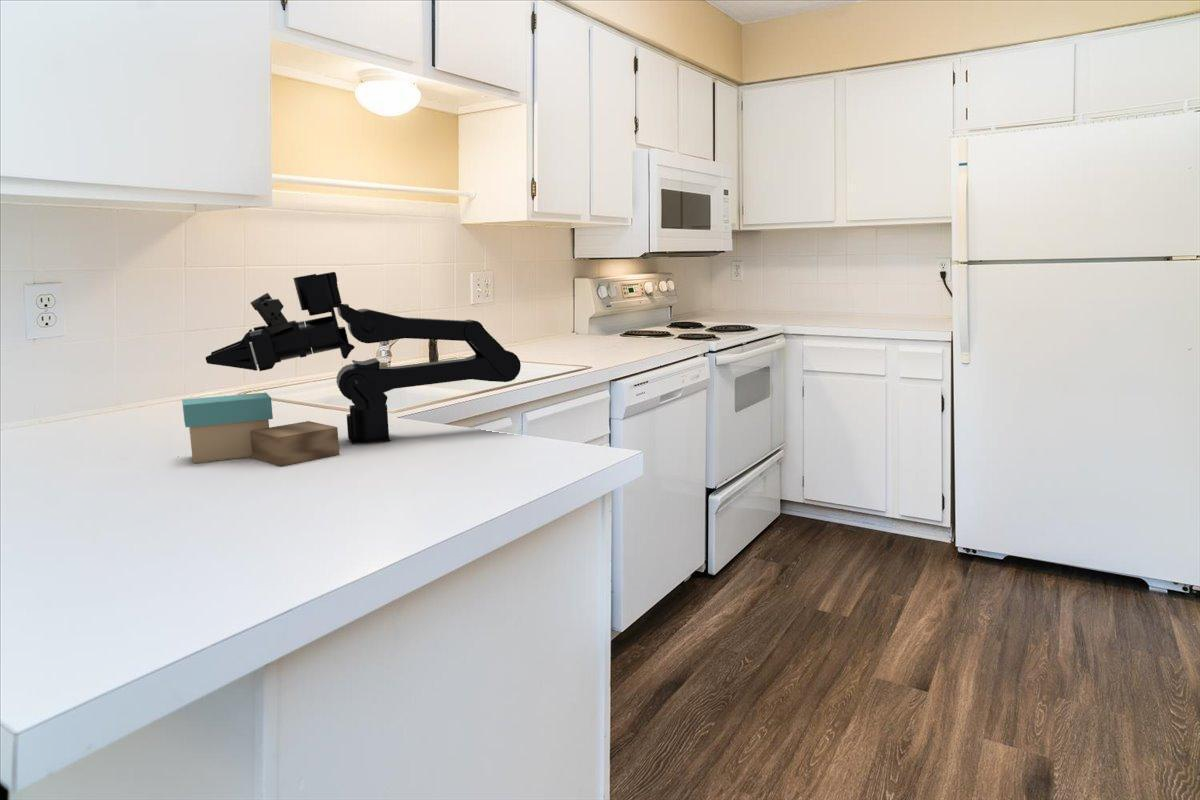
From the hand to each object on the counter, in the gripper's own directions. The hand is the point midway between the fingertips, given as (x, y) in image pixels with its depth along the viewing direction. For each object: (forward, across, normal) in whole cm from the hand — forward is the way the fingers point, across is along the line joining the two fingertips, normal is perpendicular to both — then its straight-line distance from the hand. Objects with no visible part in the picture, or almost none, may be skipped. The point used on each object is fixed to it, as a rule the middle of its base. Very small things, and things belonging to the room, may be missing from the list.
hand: (208, 357), depth 128 cm
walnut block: (-9, +8, +18) cm, 22 cm away
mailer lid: (-1, +3, +10) cm, 11 cm away
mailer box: (0, +3, +16) cm, 16 cm away
